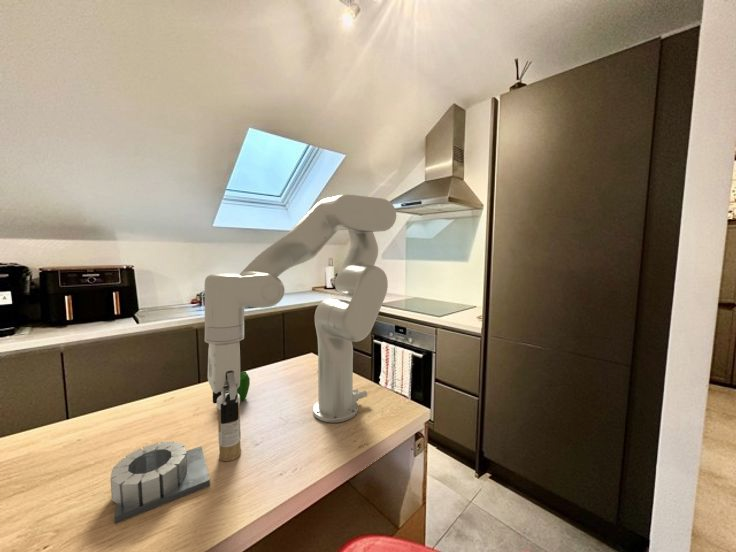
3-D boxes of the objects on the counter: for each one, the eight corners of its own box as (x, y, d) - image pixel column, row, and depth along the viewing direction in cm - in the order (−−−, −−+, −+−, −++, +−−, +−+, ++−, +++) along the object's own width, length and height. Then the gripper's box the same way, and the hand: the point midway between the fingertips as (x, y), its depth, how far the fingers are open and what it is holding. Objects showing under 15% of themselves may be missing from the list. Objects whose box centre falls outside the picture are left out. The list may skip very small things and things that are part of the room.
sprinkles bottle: (222, 449, 68) (220, 392, 67) (243, 447, 69) (242, 390, 68) (215, 463, 64) (213, 402, 63) (238, 461, 65) (236, 401, 63)
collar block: (201, 451, 68) (200, 429, 67) (209, 485, 58) (208, 460, 57) (116, 479, 59) (114, 454, 59) (109, 525, 49) (107, 496, 49)
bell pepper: (238, 391, 96) (237, 360, 95) (255, 398, 92) (254, 366, 91) (212, 403, 89) (211, 369, 88) (230, 410, 85) (229, 376, 84)
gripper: (199, 325, 69) (199, 398, 70) (211, 345, 55) (211, 437, 56) (234, 322, 73) (234, 391, 74) (254, 340, 59) (253, 424, 60)
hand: (224, 410), depth 65 cm, fingers open, 9 cm apart
